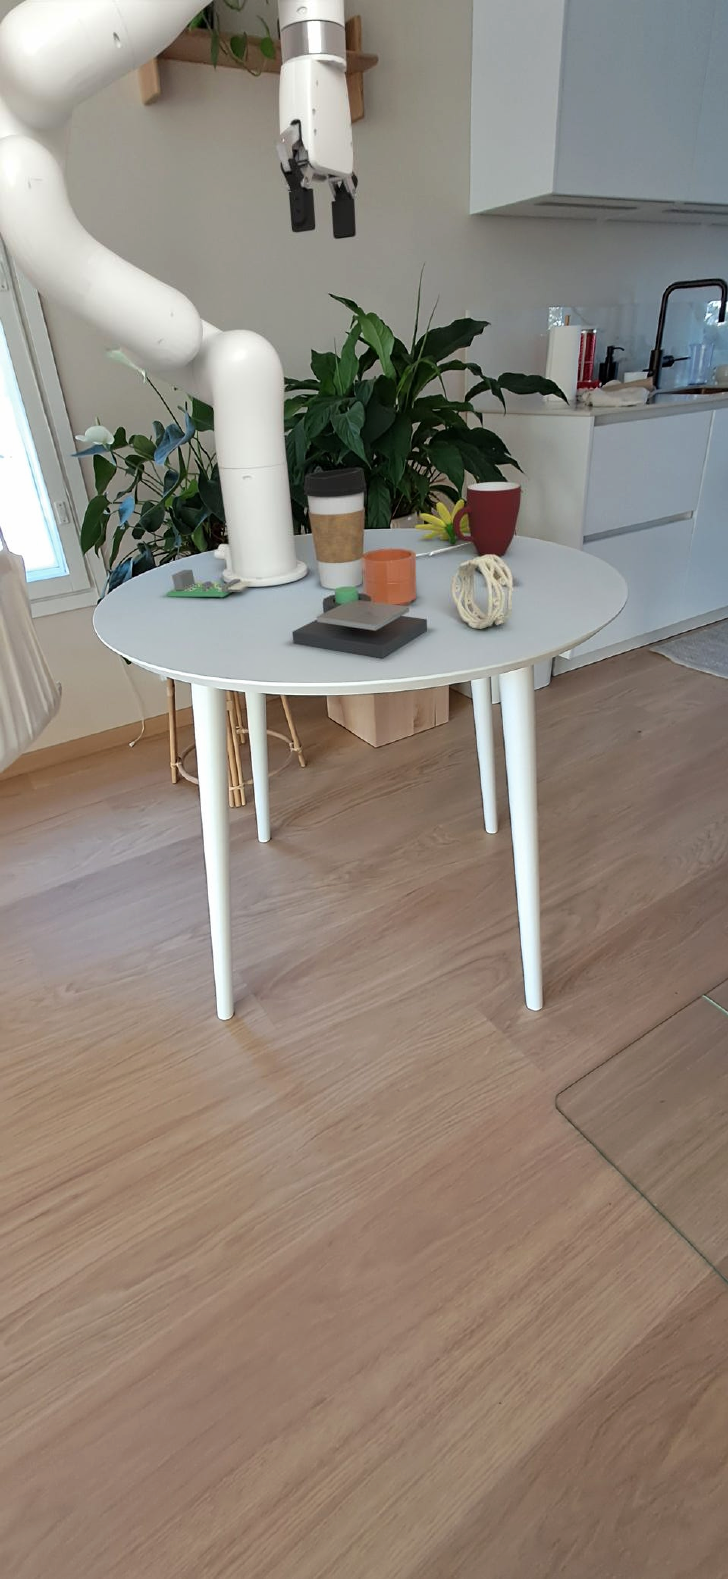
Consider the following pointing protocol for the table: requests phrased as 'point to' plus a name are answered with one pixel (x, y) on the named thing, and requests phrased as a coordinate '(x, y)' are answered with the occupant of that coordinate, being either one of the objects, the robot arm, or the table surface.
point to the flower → (444, 523)
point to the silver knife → (441, 550)
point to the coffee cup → (337, 524)
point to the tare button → (346, 594)
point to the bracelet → (491, 582)
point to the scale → (360, 634)
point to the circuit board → (202, 586)
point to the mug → (490, 516)
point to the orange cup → (389, 576)
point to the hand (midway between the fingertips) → (324, 234)
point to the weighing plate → (363, 614)
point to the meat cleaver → (495, 574)
